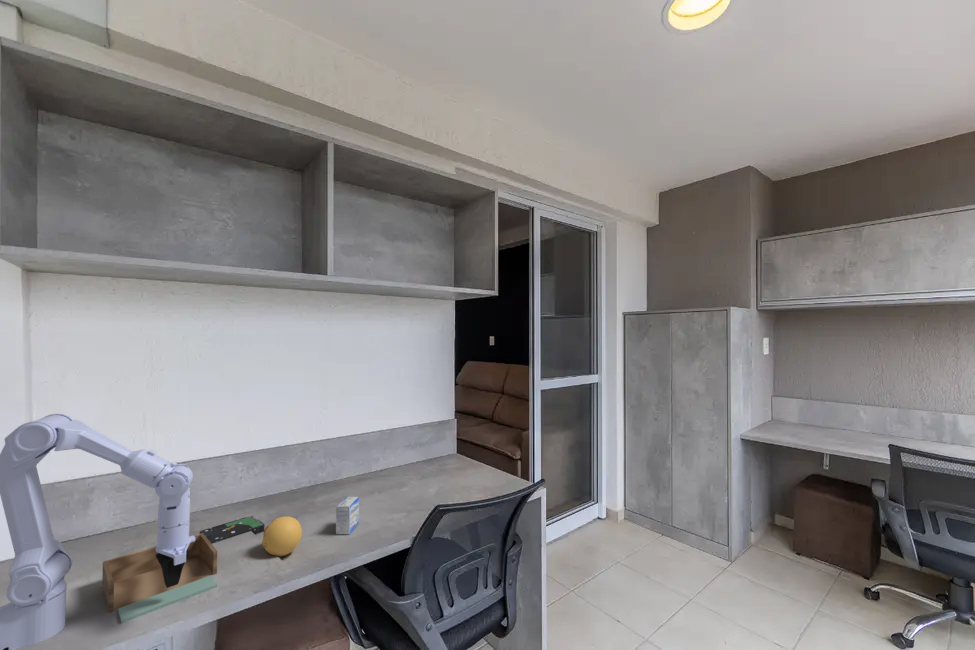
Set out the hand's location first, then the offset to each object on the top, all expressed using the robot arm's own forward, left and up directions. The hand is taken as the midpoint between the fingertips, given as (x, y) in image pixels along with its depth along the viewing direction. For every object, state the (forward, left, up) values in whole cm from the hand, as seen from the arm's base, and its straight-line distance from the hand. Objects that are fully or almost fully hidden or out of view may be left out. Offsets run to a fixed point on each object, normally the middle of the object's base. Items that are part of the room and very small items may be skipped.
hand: (171, 584), depth 92 cm
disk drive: (+20, +29, -6) cm, 36 cm away
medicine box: (+46, +7, -6) cm, 47 cm away
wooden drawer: (0, +13, -5) cm, 14 cm away
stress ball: (+26, +6, -6) cm, 27 cm away
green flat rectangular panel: (0, +5, -4) cm, 6 cm away
